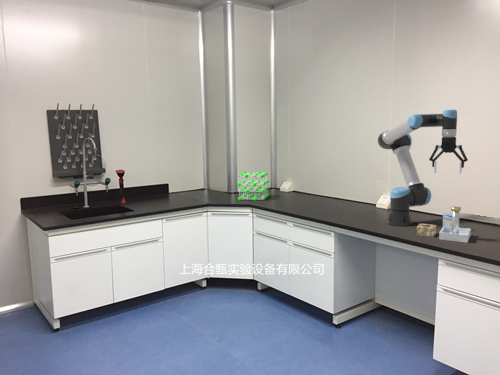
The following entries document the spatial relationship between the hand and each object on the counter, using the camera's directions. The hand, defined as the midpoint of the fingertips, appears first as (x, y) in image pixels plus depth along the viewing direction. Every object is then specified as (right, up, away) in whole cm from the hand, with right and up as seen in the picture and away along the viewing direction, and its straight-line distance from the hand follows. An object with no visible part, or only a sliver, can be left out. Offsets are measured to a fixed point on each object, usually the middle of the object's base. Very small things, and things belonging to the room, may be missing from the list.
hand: (447, 173), depth 237 cm
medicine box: (+6, -34, +9) cm, 36 cm away
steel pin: (-1, -36, -10) cm, 37 cm away
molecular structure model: (-113, -19, +136) cm, 178 cm away
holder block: (-13, -36, -2) cm, 38 cm away
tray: (-1, -37, -10) cm, 38 cm away
